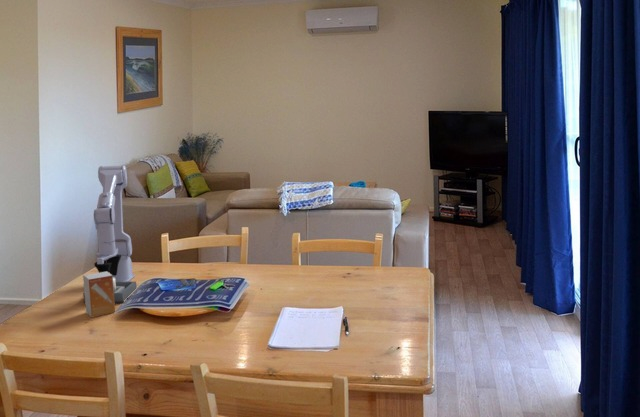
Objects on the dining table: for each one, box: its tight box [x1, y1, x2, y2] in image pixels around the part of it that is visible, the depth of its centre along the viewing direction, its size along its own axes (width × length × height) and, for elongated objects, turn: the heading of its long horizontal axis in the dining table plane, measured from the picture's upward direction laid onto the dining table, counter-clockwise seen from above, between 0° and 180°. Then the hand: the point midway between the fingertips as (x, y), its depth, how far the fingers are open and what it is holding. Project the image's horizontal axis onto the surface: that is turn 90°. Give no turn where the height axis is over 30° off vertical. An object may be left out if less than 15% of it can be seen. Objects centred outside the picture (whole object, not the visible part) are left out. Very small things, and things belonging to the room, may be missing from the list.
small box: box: [82, 271, 116, 318], centre depth 239 cm, size 8×6×13 cm
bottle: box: [111, 274, 116, 292], centre depth 256 cm, size 4×4×8 cm
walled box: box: [83, 280, 138, 304], centre depth 257 cm, size 14×14×4 cm
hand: (109, 278), depth 256 cm, fingers open, 7 cm apart
